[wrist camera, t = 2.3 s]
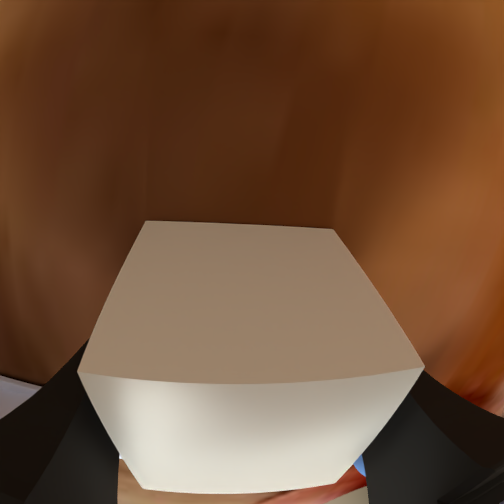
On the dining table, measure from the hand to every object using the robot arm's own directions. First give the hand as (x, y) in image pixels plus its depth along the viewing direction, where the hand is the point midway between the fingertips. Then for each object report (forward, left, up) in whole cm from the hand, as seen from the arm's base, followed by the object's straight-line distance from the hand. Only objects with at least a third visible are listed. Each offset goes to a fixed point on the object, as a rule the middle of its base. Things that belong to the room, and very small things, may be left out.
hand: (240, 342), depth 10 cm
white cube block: (0, 0, -2) cm, 2 cm away
